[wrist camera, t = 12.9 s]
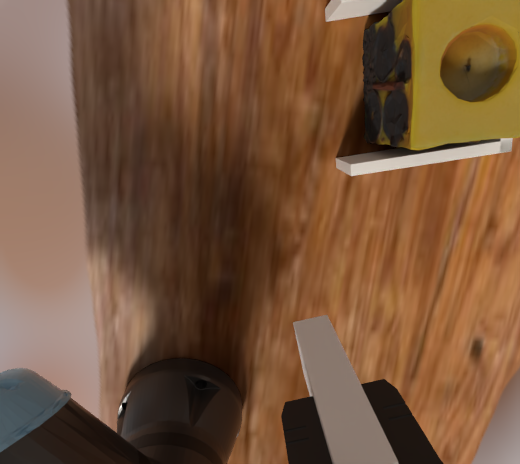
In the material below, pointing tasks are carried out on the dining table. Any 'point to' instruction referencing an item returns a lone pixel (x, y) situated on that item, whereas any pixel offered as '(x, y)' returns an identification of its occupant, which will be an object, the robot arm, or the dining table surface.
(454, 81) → the candle
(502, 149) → the frame
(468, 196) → the dining table surface
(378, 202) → the dining table surface
